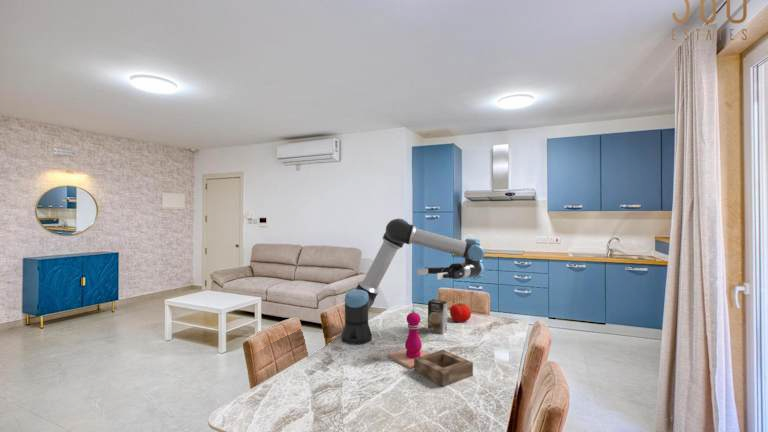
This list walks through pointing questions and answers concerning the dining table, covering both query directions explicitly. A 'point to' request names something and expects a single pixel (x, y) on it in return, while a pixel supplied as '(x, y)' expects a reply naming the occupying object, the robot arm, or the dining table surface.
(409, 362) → the terracotta tile
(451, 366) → the walnut holder
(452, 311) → the tomato
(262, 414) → the dining table surface
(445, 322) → the coffee box
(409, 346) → the pepper mill
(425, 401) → the dining table surface
